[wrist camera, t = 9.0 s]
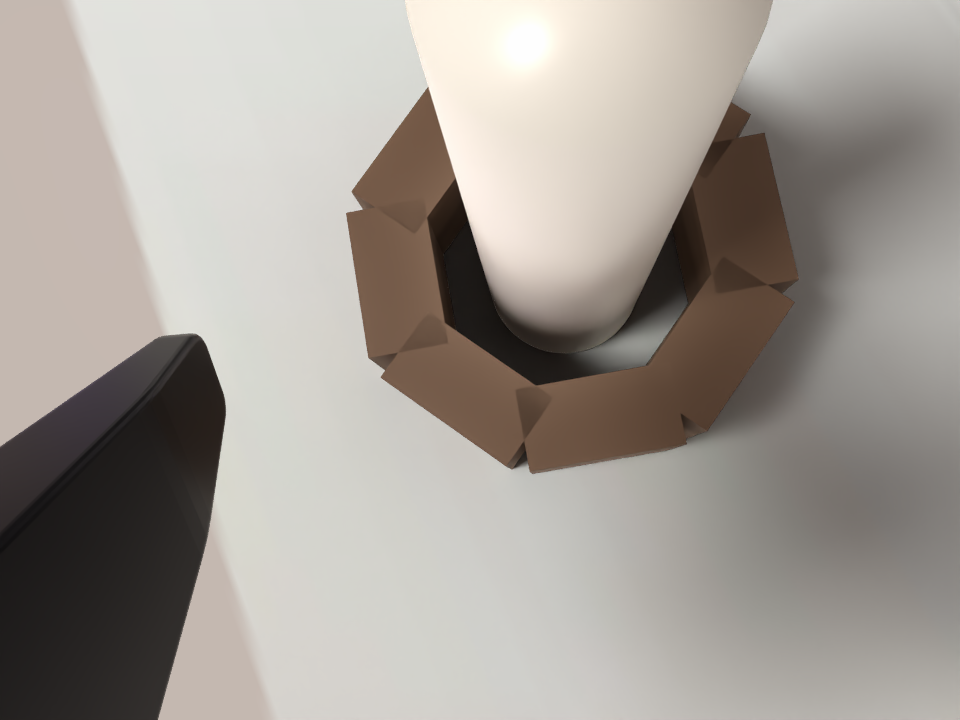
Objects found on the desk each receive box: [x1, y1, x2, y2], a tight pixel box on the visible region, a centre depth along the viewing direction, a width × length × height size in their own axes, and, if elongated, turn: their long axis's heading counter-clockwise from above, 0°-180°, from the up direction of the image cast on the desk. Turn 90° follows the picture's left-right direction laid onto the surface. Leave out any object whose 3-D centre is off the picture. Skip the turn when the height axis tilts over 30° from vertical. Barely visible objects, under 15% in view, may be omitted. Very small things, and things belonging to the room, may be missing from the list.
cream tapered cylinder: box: [405, 0, 773, 353], centre depth 15 cm, size 4×4×13 cm
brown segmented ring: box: [346, 87, 799, 474], centre depth 20 cm, size 9×9×3 cm
